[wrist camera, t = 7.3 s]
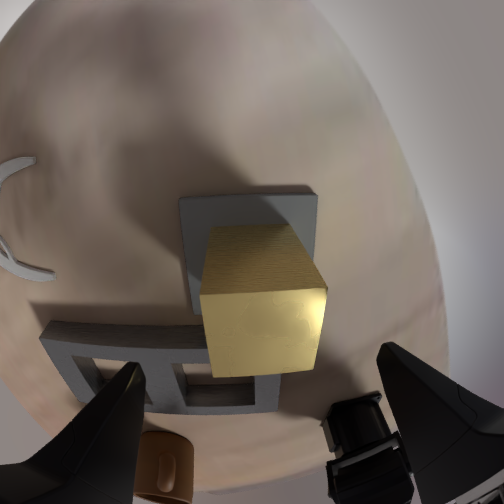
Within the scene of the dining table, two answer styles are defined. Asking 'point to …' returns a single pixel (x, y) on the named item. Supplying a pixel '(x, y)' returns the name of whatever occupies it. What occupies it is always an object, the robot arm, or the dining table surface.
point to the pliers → (4, 259)
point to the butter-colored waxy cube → (260, 301)
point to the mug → (164, 469)
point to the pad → (240, 213)
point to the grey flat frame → (153, 367)
